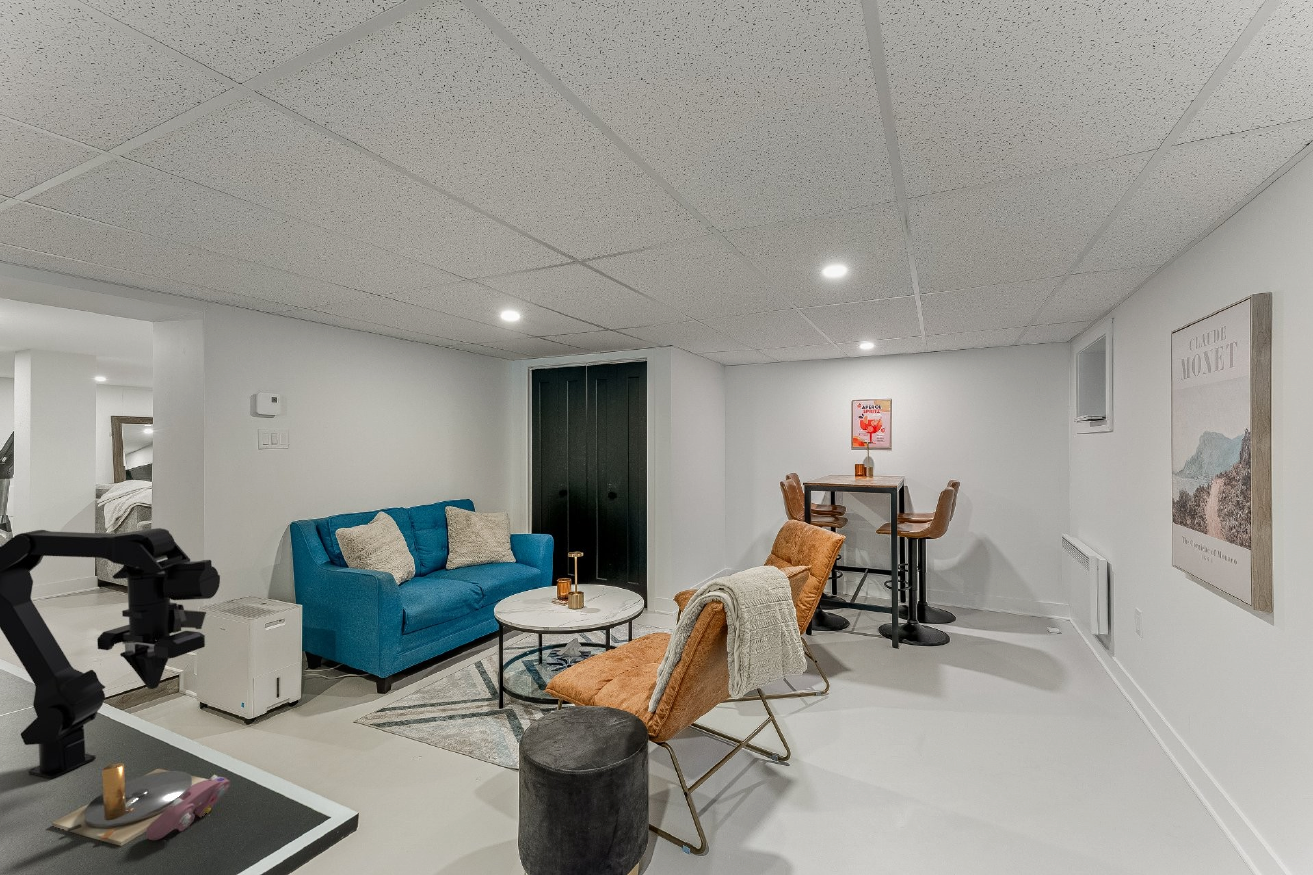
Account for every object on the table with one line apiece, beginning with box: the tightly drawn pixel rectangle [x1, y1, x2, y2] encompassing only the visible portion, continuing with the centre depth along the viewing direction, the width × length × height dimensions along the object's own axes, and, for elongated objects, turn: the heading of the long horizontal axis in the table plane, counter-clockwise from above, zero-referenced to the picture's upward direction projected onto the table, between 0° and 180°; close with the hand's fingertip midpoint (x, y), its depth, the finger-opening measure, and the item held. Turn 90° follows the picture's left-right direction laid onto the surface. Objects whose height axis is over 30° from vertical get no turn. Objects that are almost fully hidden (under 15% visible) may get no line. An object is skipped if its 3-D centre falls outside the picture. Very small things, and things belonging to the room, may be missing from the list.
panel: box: [51, 768, 209, 847], centre depth 94 cm, size 16×15×1 cm
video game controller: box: [145, 774, 231, 841], centre depth 91 cm, size 10×5×7 cm, turn 170°
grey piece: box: [84, 762, 192, 828], centre depth 95 cm, size 13×13×8 cm
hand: (153, 688), depth 107 cm, fingers closed
